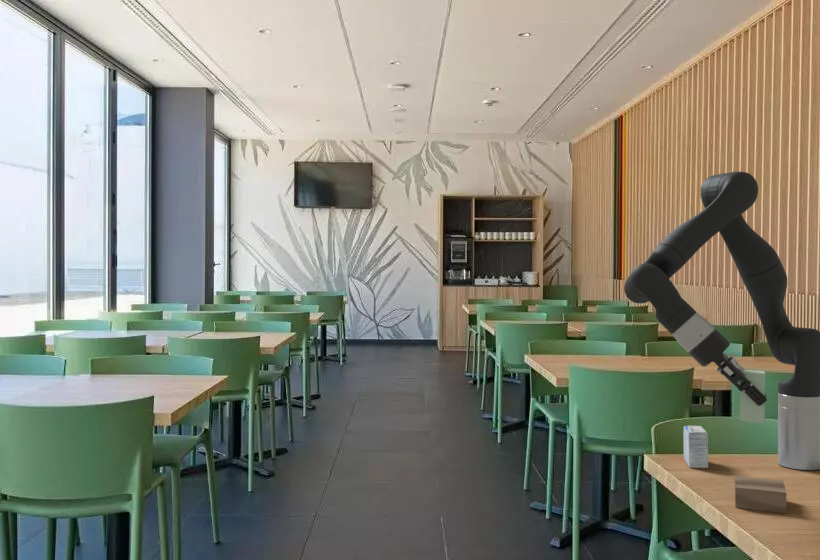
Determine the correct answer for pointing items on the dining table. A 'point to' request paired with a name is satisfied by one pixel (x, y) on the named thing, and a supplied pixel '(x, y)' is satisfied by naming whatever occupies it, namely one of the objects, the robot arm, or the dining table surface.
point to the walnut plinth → (760, 494)
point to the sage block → (747, 405)
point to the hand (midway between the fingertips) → (762, 400)
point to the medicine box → (695, 446)
